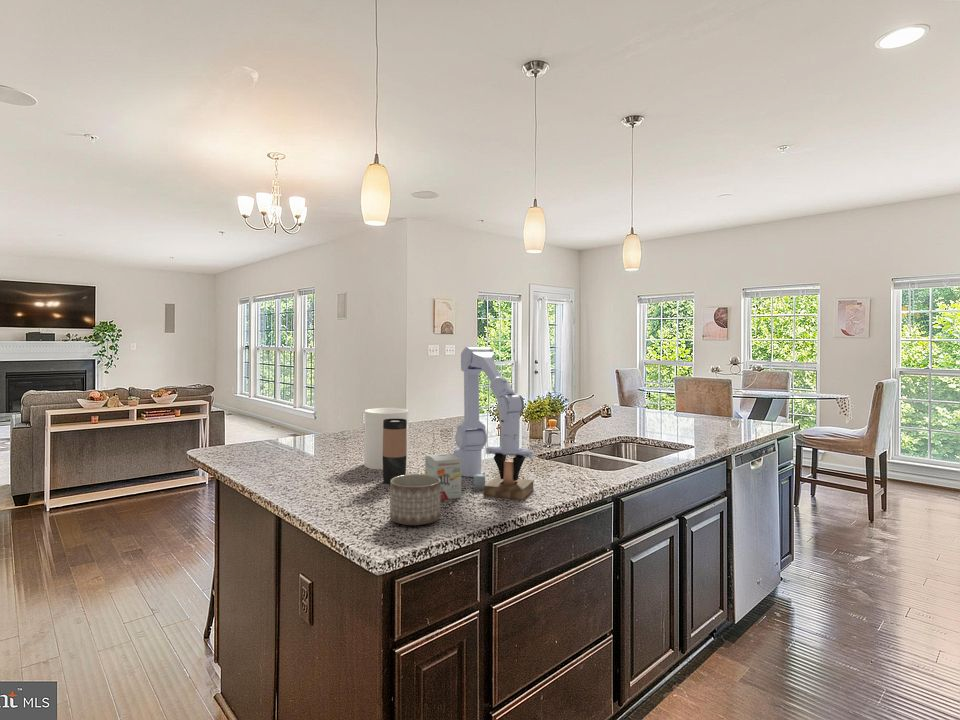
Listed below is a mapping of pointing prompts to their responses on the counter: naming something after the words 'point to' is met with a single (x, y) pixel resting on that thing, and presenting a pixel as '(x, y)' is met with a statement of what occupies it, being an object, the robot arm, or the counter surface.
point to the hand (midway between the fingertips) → (509, 479)
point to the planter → (415, 499)
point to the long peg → (508, 473)
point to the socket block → (508, 488)
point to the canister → (379, 434)
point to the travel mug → (394, 448)
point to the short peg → (479, 481)
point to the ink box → (446, 473)
